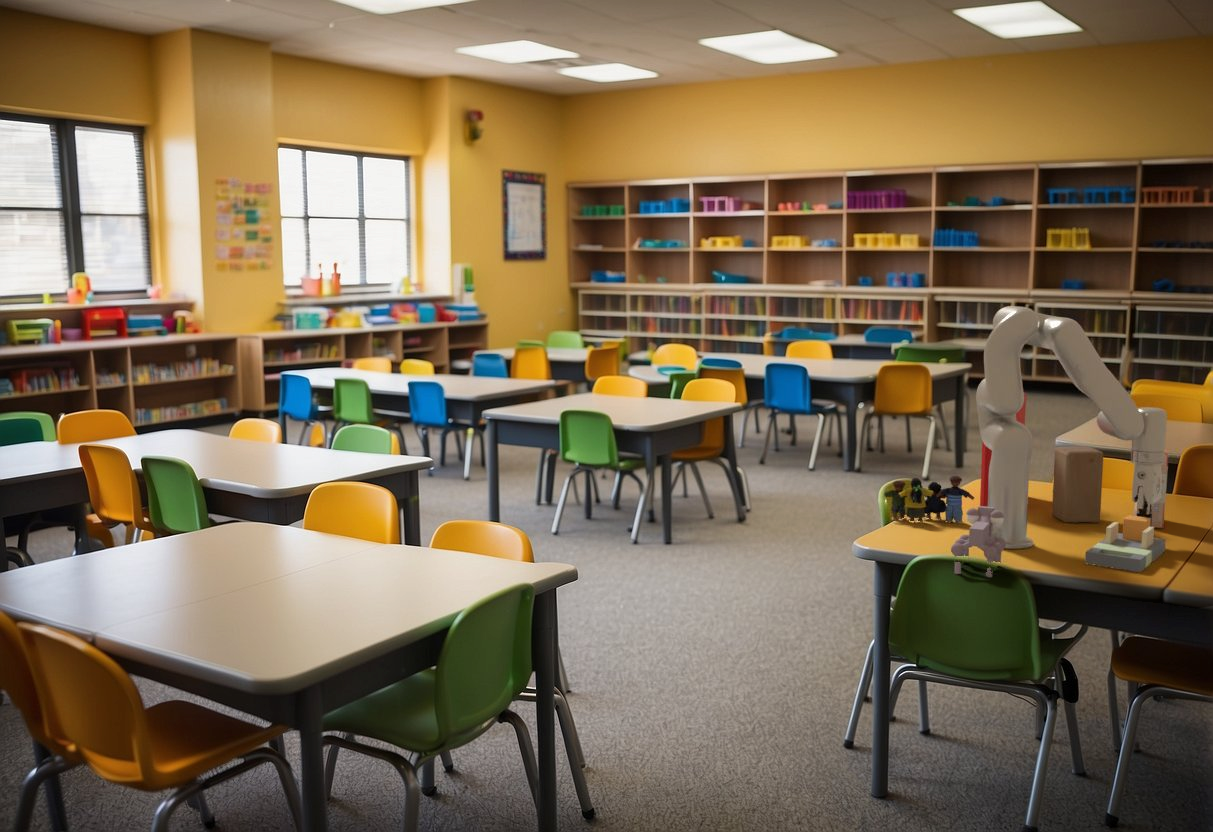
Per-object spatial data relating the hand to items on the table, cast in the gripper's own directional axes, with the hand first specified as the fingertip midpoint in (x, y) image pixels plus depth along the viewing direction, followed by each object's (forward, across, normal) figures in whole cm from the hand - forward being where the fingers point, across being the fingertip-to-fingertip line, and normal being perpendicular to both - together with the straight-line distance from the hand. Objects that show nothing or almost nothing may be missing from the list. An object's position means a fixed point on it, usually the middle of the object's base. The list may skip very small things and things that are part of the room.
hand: (1143, 528), depth 272 cm
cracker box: (+4, +26, +4) cm, 27 cm away
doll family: (+4, -7, +53) cm, 54 cm away
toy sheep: (+4, -44, +25) cm, 51 cm away
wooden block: (+4, +19, +22) cm, 29 cm away
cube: (+1, -7, 0) cm, 7 cm away
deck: (+4, -16, 0) cm, 16 cm away
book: (+4, +29, +46) cm, 54 cm away
